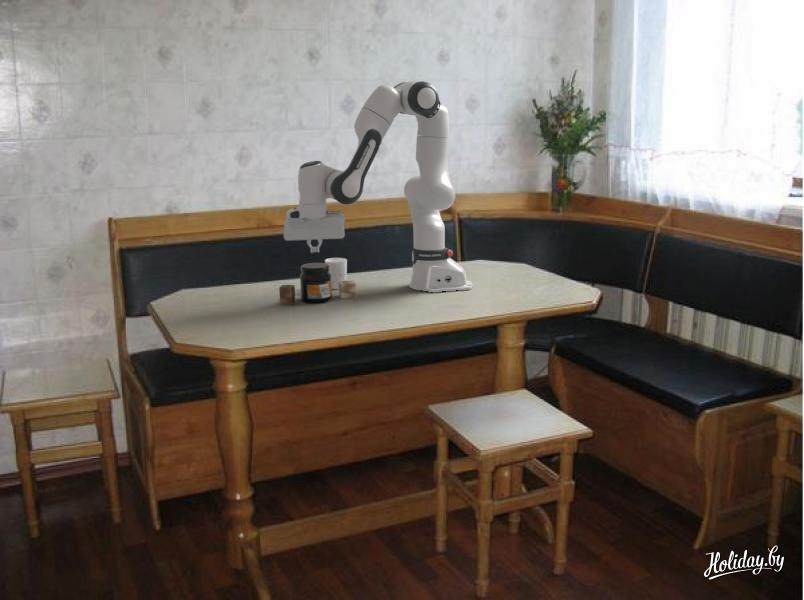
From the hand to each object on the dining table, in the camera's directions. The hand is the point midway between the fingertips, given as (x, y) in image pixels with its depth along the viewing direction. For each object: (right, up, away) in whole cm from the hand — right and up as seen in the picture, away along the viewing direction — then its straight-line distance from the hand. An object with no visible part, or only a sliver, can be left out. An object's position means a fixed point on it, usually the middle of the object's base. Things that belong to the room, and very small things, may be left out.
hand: (315, 252), depth 284 cm
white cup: (+6, -11, +22) cm, 25 cm away
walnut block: (-9, -17, 0) cm, 19 cm away
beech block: (+10, -15, +9) cm, 20 cm away
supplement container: (0, -16, +4) cm, 17 cm away
